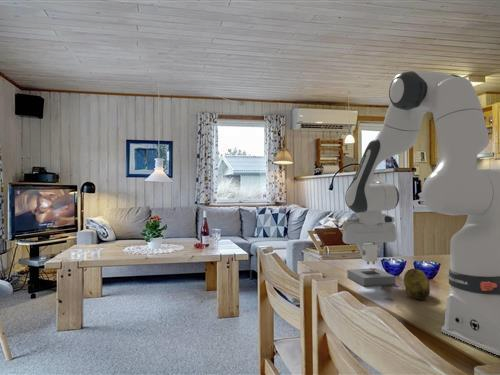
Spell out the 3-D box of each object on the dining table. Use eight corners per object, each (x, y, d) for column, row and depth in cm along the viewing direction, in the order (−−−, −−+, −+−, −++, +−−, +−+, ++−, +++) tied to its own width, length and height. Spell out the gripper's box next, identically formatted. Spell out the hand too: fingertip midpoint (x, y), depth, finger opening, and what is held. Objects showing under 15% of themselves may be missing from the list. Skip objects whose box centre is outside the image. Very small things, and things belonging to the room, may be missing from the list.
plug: (377, 264, 138) (377, 244, 138) (367, 264, 138) (366, 245, 138) (371, 262, 142) (371, 243, 142) (362, 262, 142) (361, 243, 142)
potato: (399, 299, 116) (399, 273, 116) (405, 289, 127) (405, 266, 128) (429, 303, 112) (428, 276, 112) (432, 292, 123) (432, 268, 123)
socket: (395, 284, 134) (395, 275, 134) (364, 286, 132) (363, 277, 132) (376, 275, 148) (375, 267, 148) (347, 277, 146) (347, 268, 146)
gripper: (346, 219, 135) (346, 257, 135) (398, 217, 138) (399, 255, 139) (339, 217, 141) (339, 254, 141) (389, 216, 145) (389, 252, 145)
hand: (369, 254), depth 140 cm, fingers closed on plug, 4 cm apart
